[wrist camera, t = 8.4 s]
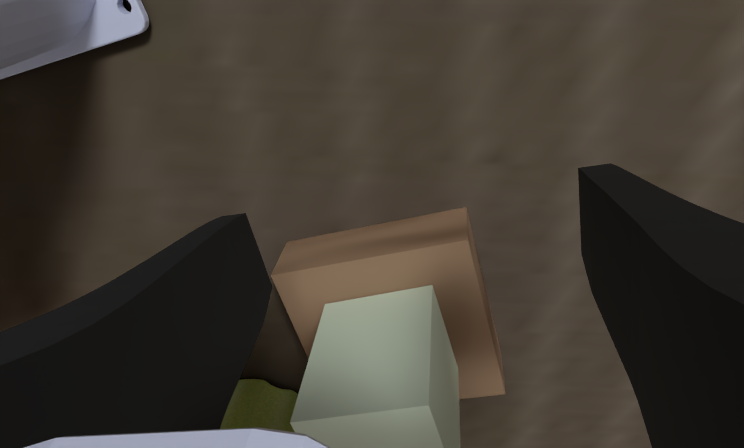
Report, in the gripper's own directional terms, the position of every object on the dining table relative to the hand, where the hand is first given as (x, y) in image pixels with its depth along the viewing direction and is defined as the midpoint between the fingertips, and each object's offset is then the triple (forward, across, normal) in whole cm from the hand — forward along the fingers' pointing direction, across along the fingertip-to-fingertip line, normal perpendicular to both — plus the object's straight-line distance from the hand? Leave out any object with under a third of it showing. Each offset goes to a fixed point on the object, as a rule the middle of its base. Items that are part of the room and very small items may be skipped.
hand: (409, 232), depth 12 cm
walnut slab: (+10, +3, +9) cm, 14 cm away
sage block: (+7, +3, +9) cm, 12 cm away
